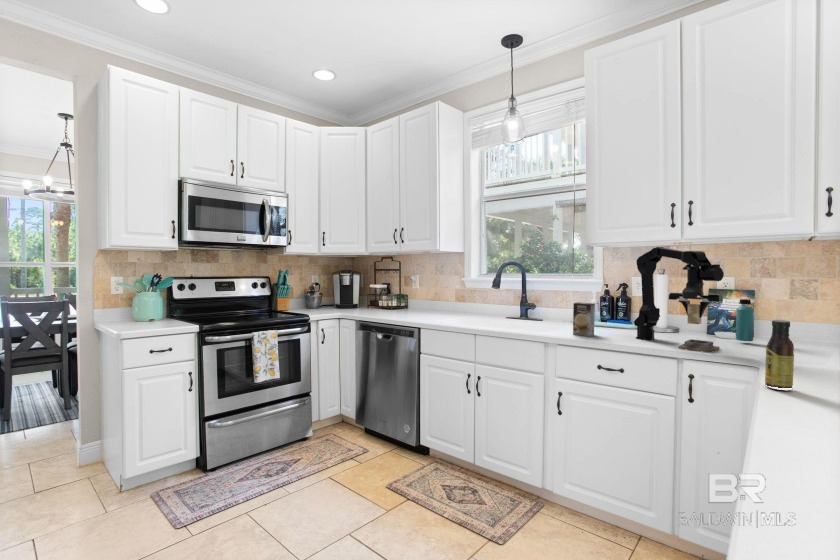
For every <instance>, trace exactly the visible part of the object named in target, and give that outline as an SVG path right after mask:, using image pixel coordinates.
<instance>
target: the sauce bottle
mask: <svg viewBox="0 0 840 560" xmlns="http://www.w3.org/2000/svg"><path fill="white" fill-rule="evenodd" d="M771 326H772V327H771V328H772V330H771V332H772V333H771V336H770V338H769V340H768V342H767V344H766V346H765V369H764V370H765V372H764V375H765V376H764V377H765V378H764V382H765V386H766V385H767V386H771V387H778V388H792V389H793V386H794V369H795V368H794V366H795V365H794V364H795V363H794V362H795V353H794V350H795V348H794V347H795V345H794V343H793V341H792V340H791V338H790V328H791V321H789V320H785V319H772V320H771Z"/></svg>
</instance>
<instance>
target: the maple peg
mask: <svg viewBox="0 0 840 560" xmlns="http://www.w3.org/2000/svg"><path fill="white" fill-rule="evenodd" d="M699 314H700V303H699V304H698V303H697V304H695V303H694V304H693V303H690V304H688V316H687V324H692V325H701V324H702V317H701V318H700V315H699Z"/></svg>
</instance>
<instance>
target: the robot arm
mask: <svg viewBox="0 0 840 560" xmlns="http://www.w3.org/2000/svg"><path fill="white" fill-rule="evenodd" d="M662 258H669V259H675V260H679V261H681V262H682V263H685V264H686V265H685V266H683V267H682V270H684V271H687V273H686V276H687V278H686V279H687V280H686V281H687V282H686V284H685V287H684V288H683V289H682V292H670V293H669V294H668V300H674V301H675V300H678V302H679V303H681V304H682V306H683V308H684V311H685V313H686V315H687V317H688V304H691V300H701V301H699V304H700V314H699V315H700V318H701V319H702V317H703V315H704V313H705V310H706V309H707V307H708V306H709V304H712V303H713V302H715V303H716V302H717V303H719V302H723V301H724V298H723V297H724V296H723V295H722V294H720V293H719V294H718V293H710V294H708V295H704V285H705V283H704V281H705V282H721V281H722V280H723V278H724V275H725V273H724V271H723V269H722V268H721V265H720V264H712V263H711V261H710V260H709V259H708V257H707V255H706V252H705V251H702V250H678V249H673V248H666V247H663V246H654V247H653V248H652V249H651V250H649V251H647V252H645V253H643V254H642V255H640V256H639V257H638V258H637V259H636V267H637V271H638V272H639V274H640V277H641V295H642V296H641V297H642V298H641V299H642V303H641V304H642V305H641V306H640V309H639V311H638V317H637V318H635V320H633V324H634V326H635V327H637V328H636V330H637V331H636V336H635V339H640V340H646V341H651V340H654V339H655V329H654V327H657V324H658V322H659V320H660V318H661V315H660V313H661V312H660V311H661V309H660V308H659V307H656V305H655V295H654V293H655V290H654V273H655V271H656V269H657V264H658V263H659V262H660V261H661V260H662Z"/></svg>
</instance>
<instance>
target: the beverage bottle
mask: <svg viewBox="0 0 840 560" xmlns="http://www.w3.org/2000/svg"><path fill="white" fill-rule="evenodd" d="M751 304H752V303H751V299H746V298H741V299H739V305H751ZM735 311H736V321H735V325H736V326H735V339H736V340H737V341H740V342H754V335H755V334H754V308H753V307H751V306H738V307H736V309H735Z"/></svg>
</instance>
